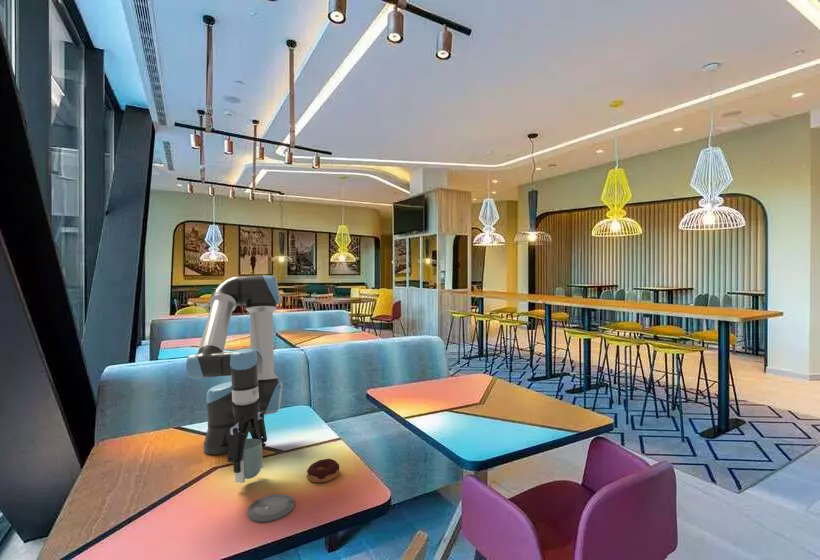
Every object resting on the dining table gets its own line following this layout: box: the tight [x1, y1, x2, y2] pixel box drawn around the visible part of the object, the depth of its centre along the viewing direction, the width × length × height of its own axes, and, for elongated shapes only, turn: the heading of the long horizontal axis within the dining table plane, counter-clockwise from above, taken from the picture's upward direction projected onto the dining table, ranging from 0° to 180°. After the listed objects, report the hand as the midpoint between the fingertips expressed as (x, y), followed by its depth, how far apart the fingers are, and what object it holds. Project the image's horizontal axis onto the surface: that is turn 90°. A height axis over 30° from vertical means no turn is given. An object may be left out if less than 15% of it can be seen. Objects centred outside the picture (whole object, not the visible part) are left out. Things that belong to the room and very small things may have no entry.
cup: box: [237, 437, 263, 480], centre depth 124 cm, size 8×8×10 cm
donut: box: [306, 458, 341, 484], centre depth 127 cm, size 10×10×4 cm
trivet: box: [247, 493, 296, 523], centre depth 110 cm, size 12×12×1 cm
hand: (249, 474), depth 124 cm, fingers closed on cup, 8 cm apart
